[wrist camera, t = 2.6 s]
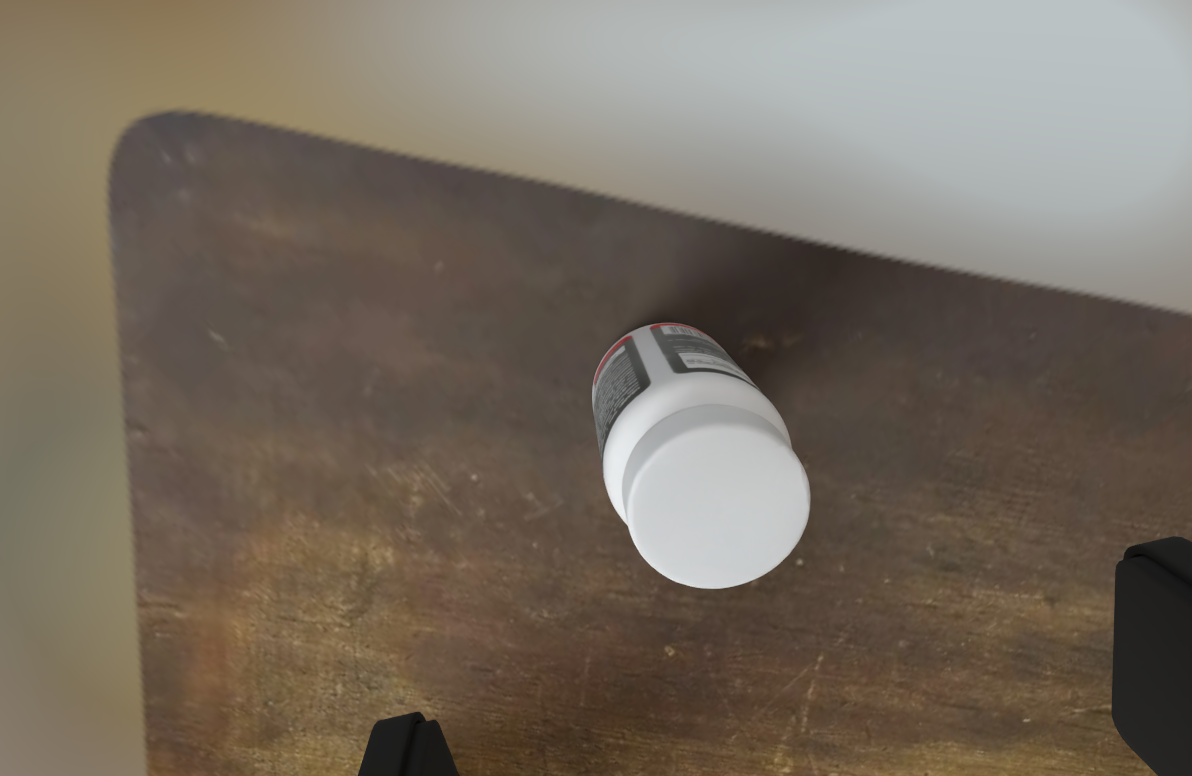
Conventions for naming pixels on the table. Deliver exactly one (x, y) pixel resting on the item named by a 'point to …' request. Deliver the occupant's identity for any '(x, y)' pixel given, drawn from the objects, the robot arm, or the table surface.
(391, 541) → the table surface
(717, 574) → the pill bottle
